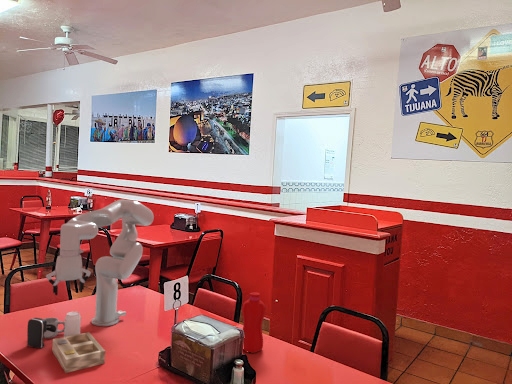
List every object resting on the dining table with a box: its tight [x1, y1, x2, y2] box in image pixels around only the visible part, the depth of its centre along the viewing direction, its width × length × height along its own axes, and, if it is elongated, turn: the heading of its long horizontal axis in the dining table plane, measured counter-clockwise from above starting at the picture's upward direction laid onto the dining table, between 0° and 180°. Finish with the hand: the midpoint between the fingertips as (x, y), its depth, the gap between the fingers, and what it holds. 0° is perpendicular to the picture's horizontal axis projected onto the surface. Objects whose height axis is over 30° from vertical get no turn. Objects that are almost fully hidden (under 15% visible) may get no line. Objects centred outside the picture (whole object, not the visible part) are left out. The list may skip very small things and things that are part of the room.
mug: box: [43, 317, 65, 339], centre depth 178 cm, size 10×7×7 cm, turn 112°
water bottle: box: [241, 292, 266, 354], centre depth 178 cm, size 9×11×25 cm
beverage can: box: [63, 310, 82, 337], centre depth 173 cm, size 6×6×12 cm
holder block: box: [51, 331, 106, 374], centre depth 159 cm, size 14×20×5 cm
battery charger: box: [26, 317, 47, 349], centre depth 166 cm, size 7×4×11 cm, turn 74°
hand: (68, 292), depth 172 cm, fingers open, 9 cm apart
